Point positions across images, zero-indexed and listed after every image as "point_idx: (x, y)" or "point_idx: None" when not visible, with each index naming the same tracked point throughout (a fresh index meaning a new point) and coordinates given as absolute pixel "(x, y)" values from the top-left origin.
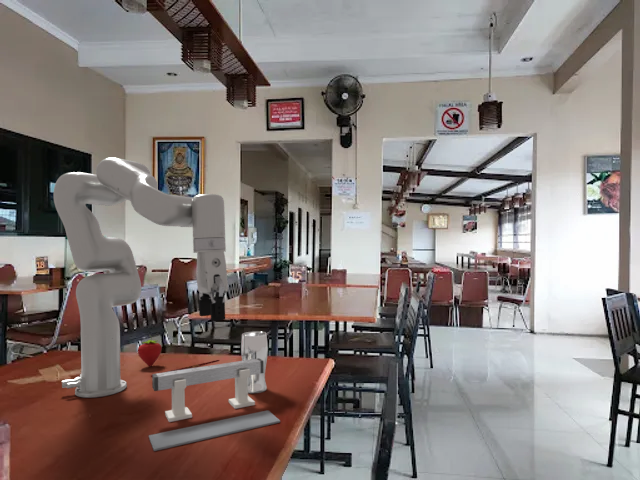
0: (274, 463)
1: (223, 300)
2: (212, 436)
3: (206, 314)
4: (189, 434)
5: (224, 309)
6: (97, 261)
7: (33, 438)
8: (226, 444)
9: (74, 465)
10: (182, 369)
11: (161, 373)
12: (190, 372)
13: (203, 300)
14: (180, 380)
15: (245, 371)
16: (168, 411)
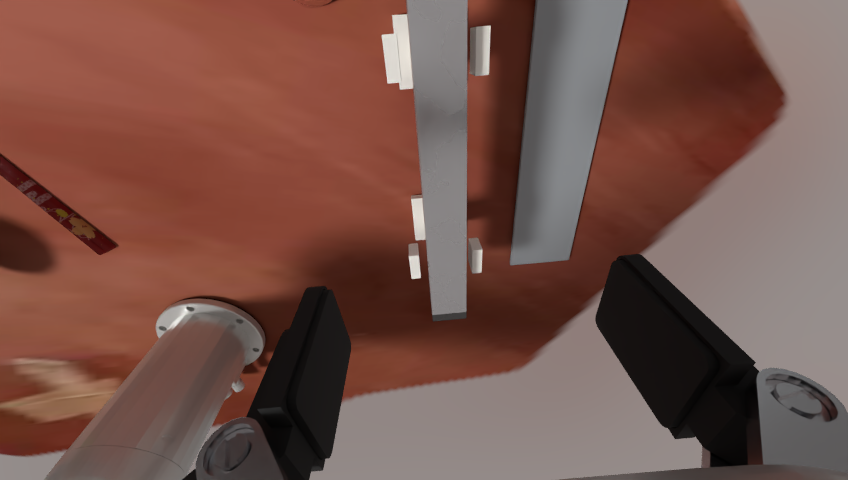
0: (779, 81)
1: (818, 401)
2: (588, 170)
3: (341, 323)
4: (552, 208)
5: (690, 307)
6: None
7: (422, 374)
8: (633, 149)
9: (538, 332)
10: (14, 170)
11: (438, 305)
12: (466, 245)
13: (320, 447)
14: (479, 261)
15: (487, 48)
16: (420, 234)
